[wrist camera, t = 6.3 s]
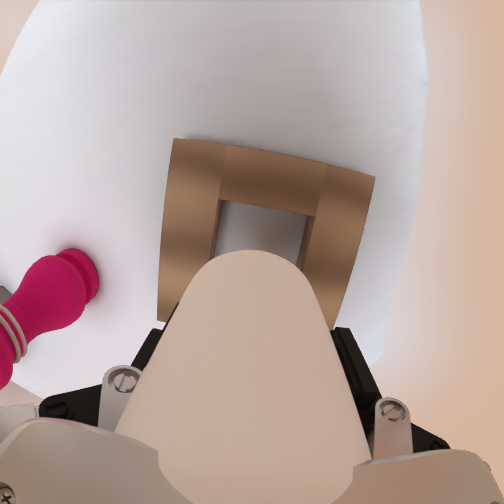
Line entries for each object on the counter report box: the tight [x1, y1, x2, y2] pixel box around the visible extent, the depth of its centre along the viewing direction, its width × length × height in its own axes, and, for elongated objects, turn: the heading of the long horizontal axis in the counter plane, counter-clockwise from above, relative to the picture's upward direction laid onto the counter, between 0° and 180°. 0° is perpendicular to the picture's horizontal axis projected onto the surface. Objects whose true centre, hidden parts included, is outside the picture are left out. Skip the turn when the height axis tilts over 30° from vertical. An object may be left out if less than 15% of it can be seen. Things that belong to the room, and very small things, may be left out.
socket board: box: [157, 138, 375, 332], centre depth 24 cm, size 16×16×3 cm
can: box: [114, 250, 372, 504], centre depth 8 cm, size 6×6×12 cm
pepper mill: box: [0, 249, 99, 390], centre depth 17 cm, size 7×7×20 cm
